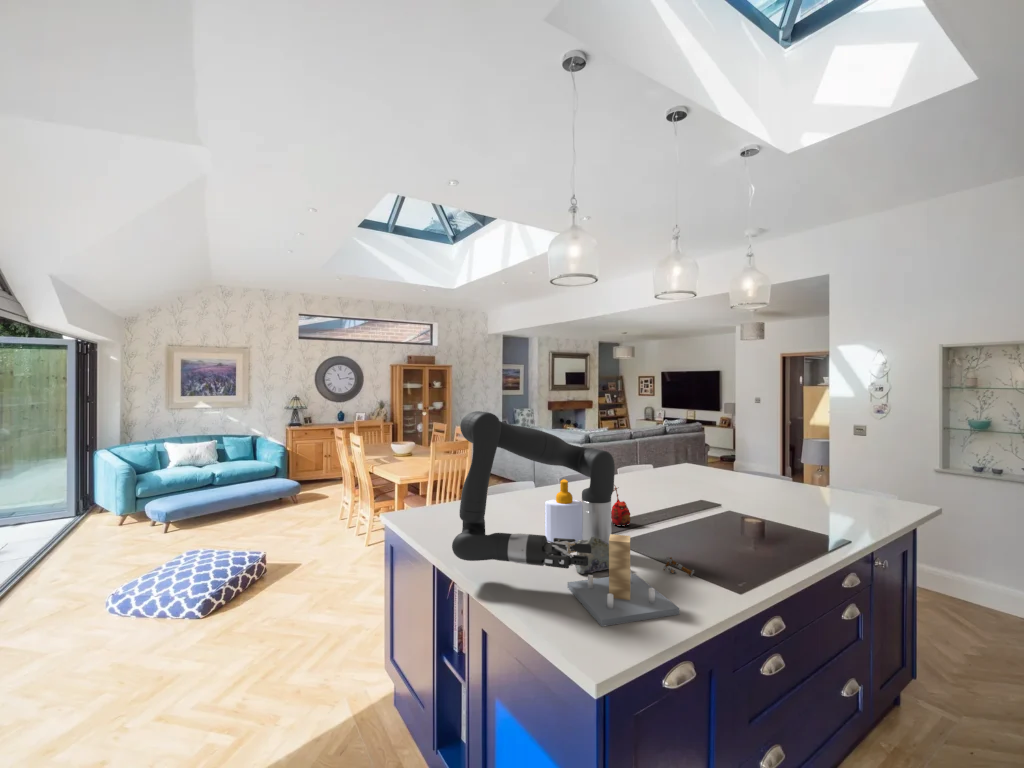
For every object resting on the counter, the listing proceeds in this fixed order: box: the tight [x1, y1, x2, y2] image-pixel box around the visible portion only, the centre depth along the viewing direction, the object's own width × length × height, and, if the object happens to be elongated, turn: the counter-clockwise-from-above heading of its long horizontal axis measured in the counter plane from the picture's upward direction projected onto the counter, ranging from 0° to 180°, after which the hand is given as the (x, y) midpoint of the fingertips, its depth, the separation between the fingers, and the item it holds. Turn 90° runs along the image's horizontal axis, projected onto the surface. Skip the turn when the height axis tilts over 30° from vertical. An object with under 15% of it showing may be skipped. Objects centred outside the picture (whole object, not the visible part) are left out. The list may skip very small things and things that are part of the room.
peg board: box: [567, 570, 680, 627], centre depth 114 cm, size 20×20×4 cm
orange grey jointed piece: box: [662, 556, 695, 578], centre depth 130 cm, size 2×8×4 cm, turn 64°
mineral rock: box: [574, 536, 609, 575], centre depth 132 cm, size 13×11×10 cm
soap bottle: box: [544, 478, 582, 543], centre depth 158 cm, size 13×8×20 cm, turn 84°
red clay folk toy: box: [611, 484, 631, 525], centre depth 175 cm, size 8×7×15 cm
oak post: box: [608, 533, 631, 600], centre depth 114 cm, size 5×5×14 cm
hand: (589, 554), depth 116 cm, fingers open, 8 cm apart
